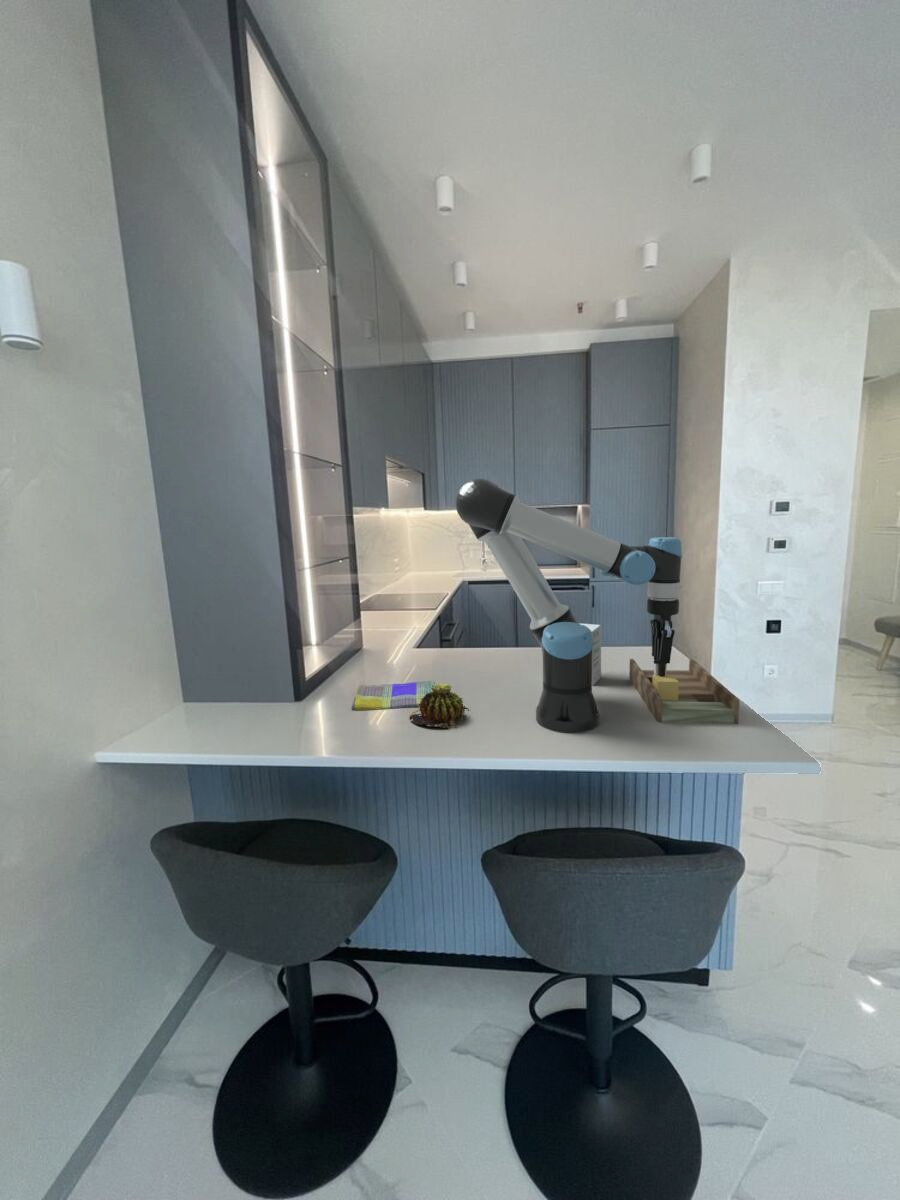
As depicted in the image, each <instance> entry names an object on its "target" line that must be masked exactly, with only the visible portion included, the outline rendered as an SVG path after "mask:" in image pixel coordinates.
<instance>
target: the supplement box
mask: <svg viewBox="0 0 900 1200" xmlns="http://www.w3.org/2000/svg"><path fill="white" fill-rule="evenodd" d="M578 623H579V624H581V625H584V626H586V627H588V628H589V629H590V631H591V633H592V639H593V648H592V687H594V686H595V685H596V683H597V682H599V680H600V679H601V678H602V625H601V624H591V623H580V622H578Z"/></svg>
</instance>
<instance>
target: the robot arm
mask: <svg viewBox="0 0 900 1200" xmlns="http://www.w3.org/2000/svg"><path fill="white" fill-rule="evenodd" d="M455 497H456V498H455V508H456V509H455V510H456V512H457V515H458V516H459V517H460V519H461V520H462V521H463V522H464V523H466V524H468V526H469V528H470V530H471V531H472V533H473V534H474V536H475V538H476V539H477V540H478V541H480V542H482V543H483V542H484V543H485V544H486V545H487V546H488V548H489V551H490V552H491V553H492V555H493V557H494V558H495V560H496V561H497V564H498V565H499V567H500V569H501V570H502V572H503V574H504V576H505V577H506V579H507V580H508V583H509V584H510V586H511V588H512V589H513V590H514V592H515V594H516V596H517V597H518V599H519V601H520V602H521V604H522V606H523V607H524V609H525V611H526V613H527V615H528V616H529V618H530V624H529V628H530V631H531V632H532V634H533V636H534V637H535V639H536V641H537V643H538V644H539V646H540V648H541V652H542V653H541V654H542V691H541V695H540V697H539V702H538V704H537V706H536V709H535V720H536V722H537V723H538V724H539V725H540V726H541V727H542V728H544V729H548V730H551V731H554V732H558V733H559V732H560V733H570V734H571V733H572V734H573V733H582V732H588V731H591V730H594V729H595V728H597V727H598V726H599V724H600V711H599V710H598V707H597V703H596V699H595V696H594V694H593V691H592V690H593V686H592V648H593V639H592V633H591V631H590V629H589V628H588V627H586V626H584V625H581V624H582V623H580V622H578V621H577V619H576V617H575V615H574V614H573V612H572V611H571V609H570V607H569V606H568V605H566V604H561V603H560V601H559V600H558V598H557V597H556V595H555V593H554V592H553V590H552V588H551V586H550V585H549V583H548V581H547V579H546V578H545V576H544V575H543V572H542V571H541V569H540V567H539V566H538V563H537V562H536V561H535V558H534V557H533V555H532V553H531V552H530V550H529V549H528V547H527V545H526V543H525V542H524V540H525V541H527V542H530V543H533V544H534V545H538V546H541V547H543V548H545V549H548V550H550V551H552V552H555V553H557V554H560V555H562V556H565V557H568V558H570V559H572V560H575V561H577V562H579V563H583V564H585V565H587V566H589V567H592V568H594V569H597V570H599V572H600V574H601V575H603V576H604V577H605V576H606V577H607V576H608V577H612V578H613V577H616V578H618V579H621V580H622V581H624V582H625V583H628V584H631V585H634V586H635V585H636V586H637V585H644V584H647V596H648V597H649V598H648V599H647V602H646V612H647V613H649V614H651V615H652V616H653V619H650V629H651V631H650V632H651V657H653V670H654V675H659V676H665V675H666V670H667V668H668V664H670V663H671V656H672V648H673V641H674V636H675V632H676V631H675V629H673V621H672V618H671V617H672V616H676V615H678V614H679V613H680V612H679V611H680V600H679V597H680V589H682V588H683V586H682V584H680V583H681V571H682V569H681V568H682V557H683V555H682V551H683V550H682V541H681V539H680V538H679V537H674V536H673V537H672V536H671V537H669V536H668V537H667V536H664V537H663V536H661V537H660V536H659V537H652V538H650V539H649V543H648V544H647V545H639V546H637V545H636V546H633V545H631V546H629V545H627V544H625V543H621V542H619V541H617V540H614V539H612V538H610V537H607V536H605V535H602V534H599V533H597V532H595V531H592V530H590V529H587V528H585V527H582V526H581V525H577V524H575V523H573V522H570V521H568V520H565V519H563V518H560V517H557V516H556V515H553V514H550V513H548V512H546V511H543V510H541V509H538V508H536V507H534V506H532V505H528V504H525V503H524V502H521V501H520V500H519V498H518V495H515V494H513V493H511V492H509V491H507V490H504V489H502V488H501V487H499V485H497V484H496V483H494V482H492V481H491V480H488V479H486V478H474V479H470V480H468V481H466V482H465V483H464V484H463V485H461V487H460V488H459V489H458V491H457V493H456V496H455ZM579 623H580V624H579Z"/></svg>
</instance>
